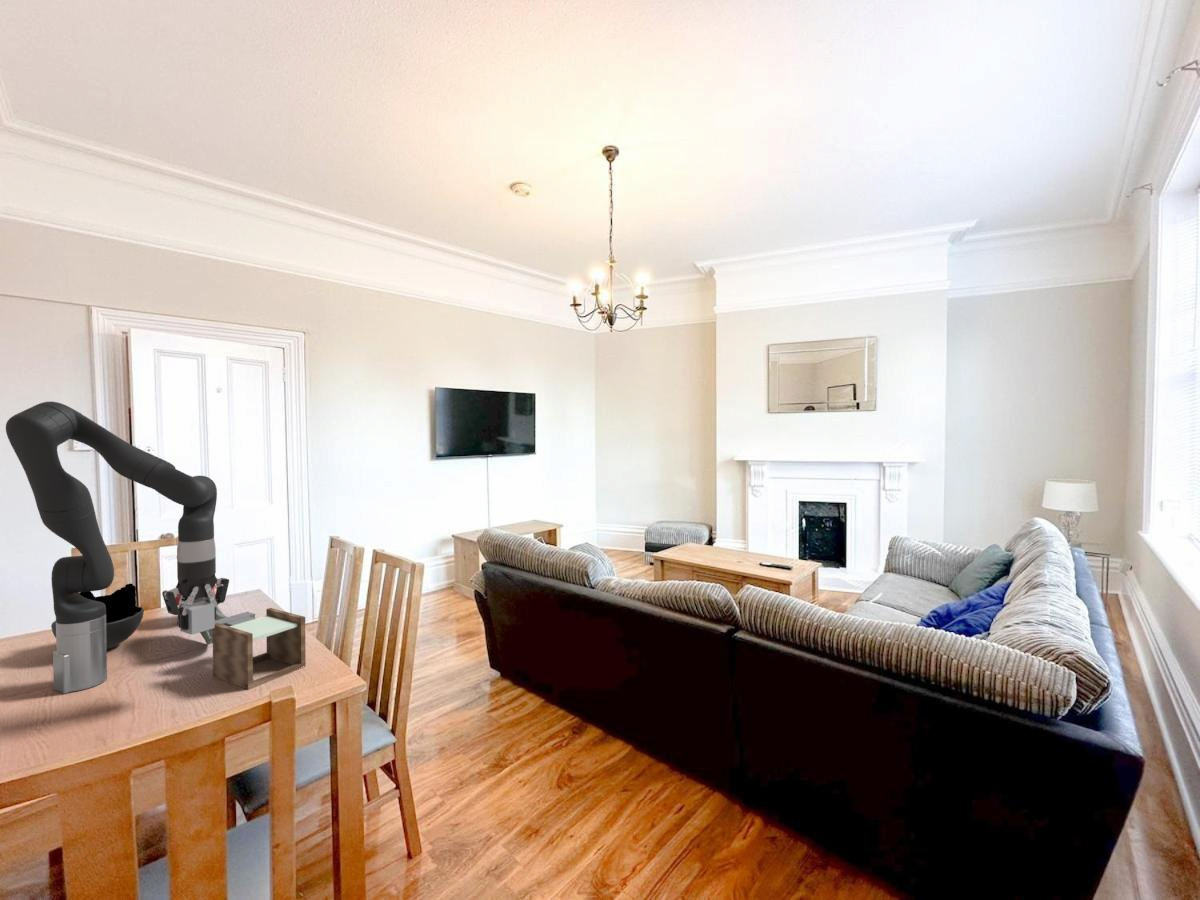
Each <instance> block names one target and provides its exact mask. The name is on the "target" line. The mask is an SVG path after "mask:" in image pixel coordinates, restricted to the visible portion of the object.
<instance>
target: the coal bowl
mask: <svg viewBox="0 0 1200 900" xmlns="http://www.w3.org/2000/svg"><path fill="white" fill-rule="evenodd" d="M136 590H137V587H136V586H135V585H134V583H126V584H125V586H122V587H120V589H116V590H115V591H113V592H112V593H111V594H106V595H100V596H94V594H93V591H89V592H79V594H80V595H81V596H83V597H84V598H87V599H90V600H94V601H99V602H102V603H104V604H105V606H106V644H107V650H108V649H111V648H113V647H115V646H118V645H120V644H121V643H123V642H125V641H126V640H127V639H129V638H130V637H131V636H132V635H133V634H134V633H135V632H136V631H137V629H138V627H139V626H140V624H141V622H142V620H143V617H144V613H145V612H144V611H145V610H144V608H143V607H142V606H138V605H137V597H136V596H137V592H136ZM50 626H51V631H52V634H53V636H54V638H55V639H56V620H54V621H53V622H52V623H51V625H50Z"/></svg>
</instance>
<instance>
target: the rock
mask: <svg viewBox="0 0 1200 900" xmlns="http://www.w3.org/2000/svg"><path fill="white" fill-rule="evenodd" d="M212 592H213V589H212ZM213 594H214V592H213ZM214 596H215V595H214ZM201 601H205V600H204V599H203V598H198V599H196V600H194V601H193V603H197V602H201ZM226 617H228V616H226V615H225V614H224V613H223V612H222V610H221V608H220V607H219V604H218V605H217V606H216V619H215V620H219V619H223V618H226ZM199 634H200V635H201V636H202V638H203V639H204V642H205V643H206V645H211V644H213V637H210V636H209V630H206V631H203V632H199Z"/></svg>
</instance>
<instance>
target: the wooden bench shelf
mask: <svg viewBox="0 0 1200 900" xmlns="http://www.w3.org/2000/svg"><path fill="white" fill-rule="evenodd" d="M265 614H266V615H265V616H270V617H274V618H278V619H281V620H285V621H289V622H292V623H296V624H297V627H295V628H292V629H289V630H286V631H283V632H280V633H277V634H274V635H271V636H268V637H266V652H264V653H260V654H259V655H255V656H253V655H254V654H253V653H254V646H253V642H254V641H253V634H252V633H249V632H245V631H242V630H239V629H236V628H232V627H229V626H226V625H223V624H219V623H215V628H213V643H212V676H213V677H215V678H218V679H219V680H223V681H225V682H228V683H230V684H233V685H236V686H239V687H240V688H243V689H246V690H251V689H254V688H256V687H258V686H261V685H264V684H266V683H268V682H271V681H273V680H276V679H278V678H280V677H283V676H285V674H286V675H288V674H291V673H293V672H295V670H296V671H297V669H298V670H300V669H302V668H301V667H303V666H305V665H306V616H303V615H299V614H295V613H292V612H288V611H284V610H280V609H277V608H273V607H269V608H268V607H267V608H266V613H265ZM268 658H271V659H274V660H277V661H279V662H283V663H285V664H288V665H290V666H287V667H284V668H283V669H280V670H278V671H275V672H272V673H270V674H269V673H268V674H267V675H265V676H262V677H259V678H258V679H257V678H256V679H255V680H254V664H255V663H258V662H260V661H263V660H265V659H268ZM305 667H306V666H305ZM299 668H300V669H299ZM303 668H304V667H303Z"/></svg>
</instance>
